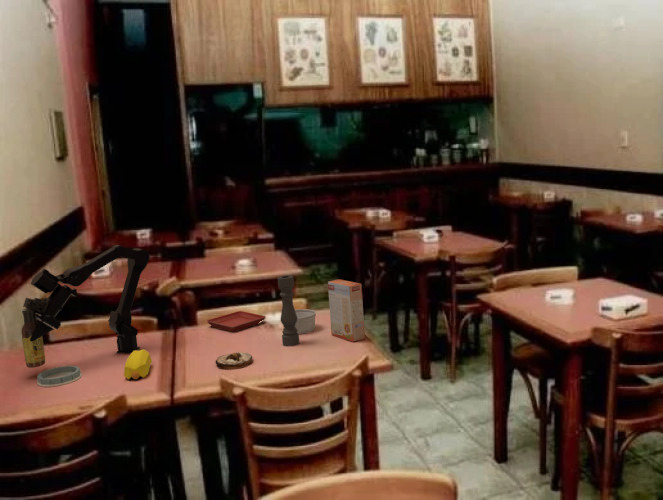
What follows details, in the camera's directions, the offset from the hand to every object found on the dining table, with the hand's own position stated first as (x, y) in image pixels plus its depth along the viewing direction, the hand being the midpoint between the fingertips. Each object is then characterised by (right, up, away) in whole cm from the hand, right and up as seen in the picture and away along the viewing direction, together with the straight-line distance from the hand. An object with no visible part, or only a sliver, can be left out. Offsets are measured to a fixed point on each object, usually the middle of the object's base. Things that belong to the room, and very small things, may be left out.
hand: (27, 339), depth 218 cm
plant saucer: (+64, -1, +49) cm, 81 cm away
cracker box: (+109, -2, +21) cm, 111 cm away
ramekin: (+91, -2, +35) cm, 97 cm away
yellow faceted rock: (+38, -11, -1) cm, 40 cm away
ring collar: (+12, -13, -3) cm, 18 cm away
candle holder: (+88, -4, +18) cm, 90 cm away
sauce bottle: (+2, -9, +2) cm, 10 cm away
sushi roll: (+70, -9, +1) cm, 70 cm away
